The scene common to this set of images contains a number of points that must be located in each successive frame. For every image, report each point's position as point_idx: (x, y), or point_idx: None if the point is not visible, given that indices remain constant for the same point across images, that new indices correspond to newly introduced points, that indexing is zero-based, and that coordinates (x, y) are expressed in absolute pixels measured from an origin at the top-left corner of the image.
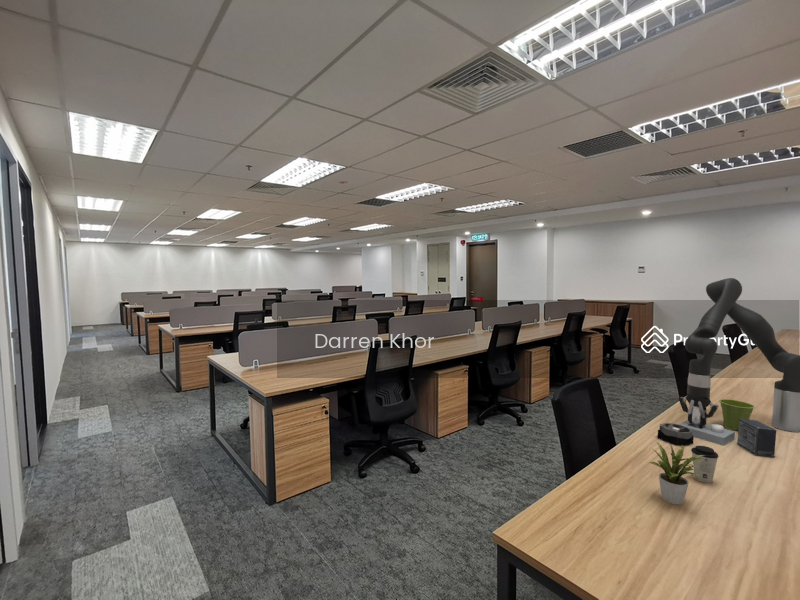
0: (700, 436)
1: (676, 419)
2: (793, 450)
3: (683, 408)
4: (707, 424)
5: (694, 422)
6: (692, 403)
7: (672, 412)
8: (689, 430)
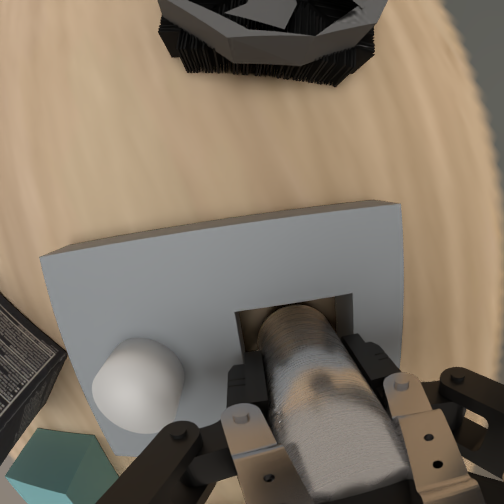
0: (202, 224)
1: None
2: (10, 455)
3: (477, 385)
4: None
5: (309, 333)
6: (438, 491)
7: (465, 464)
8: (188, 6)
